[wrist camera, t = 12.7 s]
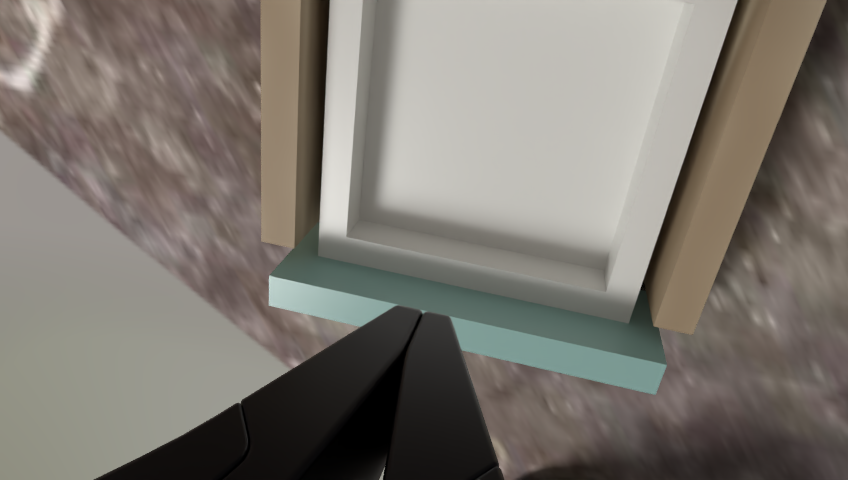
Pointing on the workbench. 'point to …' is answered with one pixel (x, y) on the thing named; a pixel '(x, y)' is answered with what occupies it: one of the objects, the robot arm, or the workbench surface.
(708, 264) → the dock
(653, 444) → the workbench surface
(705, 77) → the tray
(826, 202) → the workbench surface
